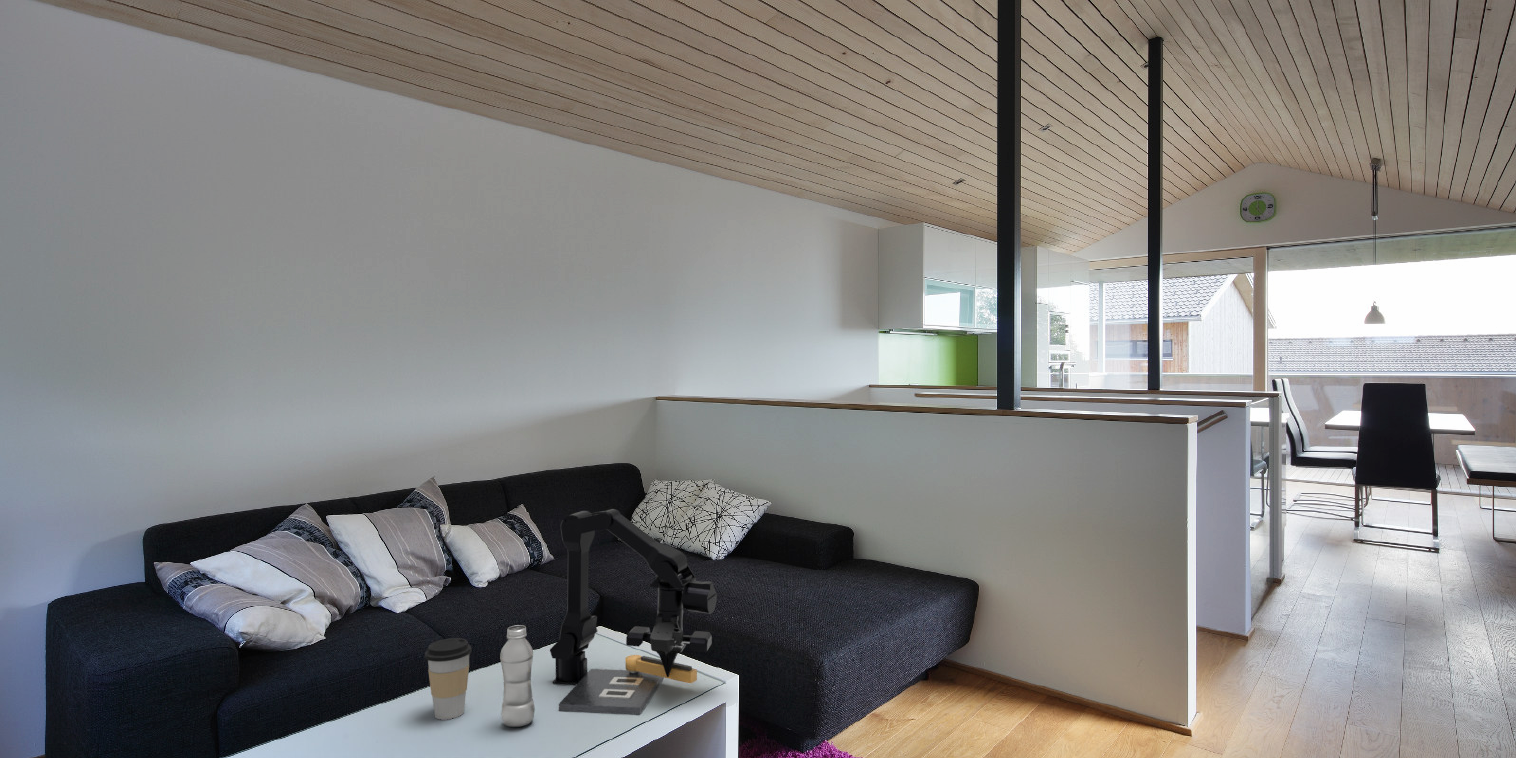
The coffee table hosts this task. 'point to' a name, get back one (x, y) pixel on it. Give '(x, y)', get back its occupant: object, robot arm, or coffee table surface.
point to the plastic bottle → (517, 678)
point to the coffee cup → (448, 676)
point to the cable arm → (660, 668)
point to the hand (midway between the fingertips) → (668, 676)
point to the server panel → (611, 692)
